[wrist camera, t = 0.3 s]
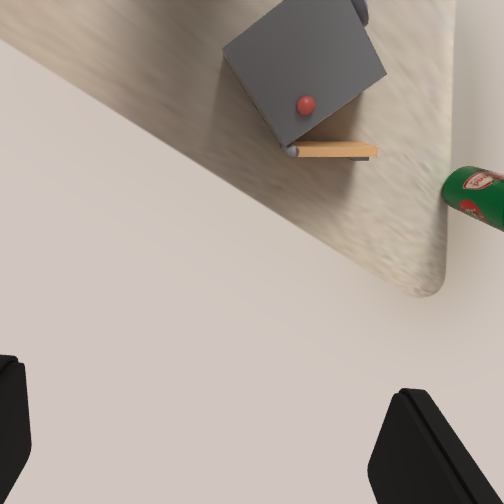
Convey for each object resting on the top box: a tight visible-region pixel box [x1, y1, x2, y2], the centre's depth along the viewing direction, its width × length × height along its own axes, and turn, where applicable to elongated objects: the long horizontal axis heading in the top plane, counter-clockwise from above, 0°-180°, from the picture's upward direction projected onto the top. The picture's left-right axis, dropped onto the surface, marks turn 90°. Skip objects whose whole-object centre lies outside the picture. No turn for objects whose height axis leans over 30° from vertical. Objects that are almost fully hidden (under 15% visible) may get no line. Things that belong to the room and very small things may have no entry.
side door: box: [281, 141, 378, 161], centre depth 39 cm, size 2×9×6 cm, turn 90°
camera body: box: [223, 0, 387, 147], centre depth 36 cm, size 10×13×7 cm
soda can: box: [443, 166, 504, 232], centre depth 39 cm, size 5×5×12 cm
